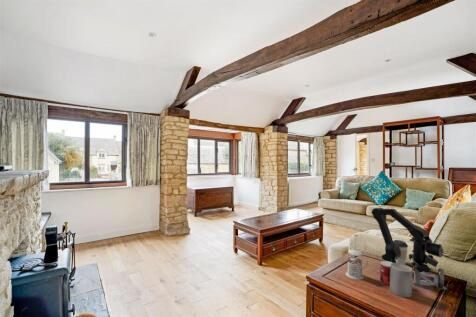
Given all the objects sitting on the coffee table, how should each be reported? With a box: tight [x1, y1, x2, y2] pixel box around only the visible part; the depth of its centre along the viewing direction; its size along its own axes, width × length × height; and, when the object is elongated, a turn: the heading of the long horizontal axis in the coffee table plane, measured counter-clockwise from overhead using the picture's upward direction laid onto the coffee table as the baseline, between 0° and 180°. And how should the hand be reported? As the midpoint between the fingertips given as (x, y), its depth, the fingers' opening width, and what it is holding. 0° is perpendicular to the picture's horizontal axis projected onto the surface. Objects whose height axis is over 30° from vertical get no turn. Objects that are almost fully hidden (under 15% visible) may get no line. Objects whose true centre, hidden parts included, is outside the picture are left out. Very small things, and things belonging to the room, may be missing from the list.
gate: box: [413, 271, 438, 287], centre depth 131 cm, size 11×1×6 cm, turn 76°
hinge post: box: [435, 268, 448, 291], centre depth 129 cm, size 4×4×11 cm
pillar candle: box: [389, 263, 414, 298], centre depth 123 cm, size 10×10×15 cm
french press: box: [345, 233, 369, 280], centre depth 140 cm, size 10×12×25 cm
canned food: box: [379, 260, 392, 287], centre depth 133 cm, size 8×8×11 cm
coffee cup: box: [393, 239, 409, 265], centre depth 160 cm, size 9×9×15 cm
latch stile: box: [412, 269, 423, 288], centre depth 131 cm, size 4×3×8 cm
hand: (418, 277), depth 136 cm, fingers closed
